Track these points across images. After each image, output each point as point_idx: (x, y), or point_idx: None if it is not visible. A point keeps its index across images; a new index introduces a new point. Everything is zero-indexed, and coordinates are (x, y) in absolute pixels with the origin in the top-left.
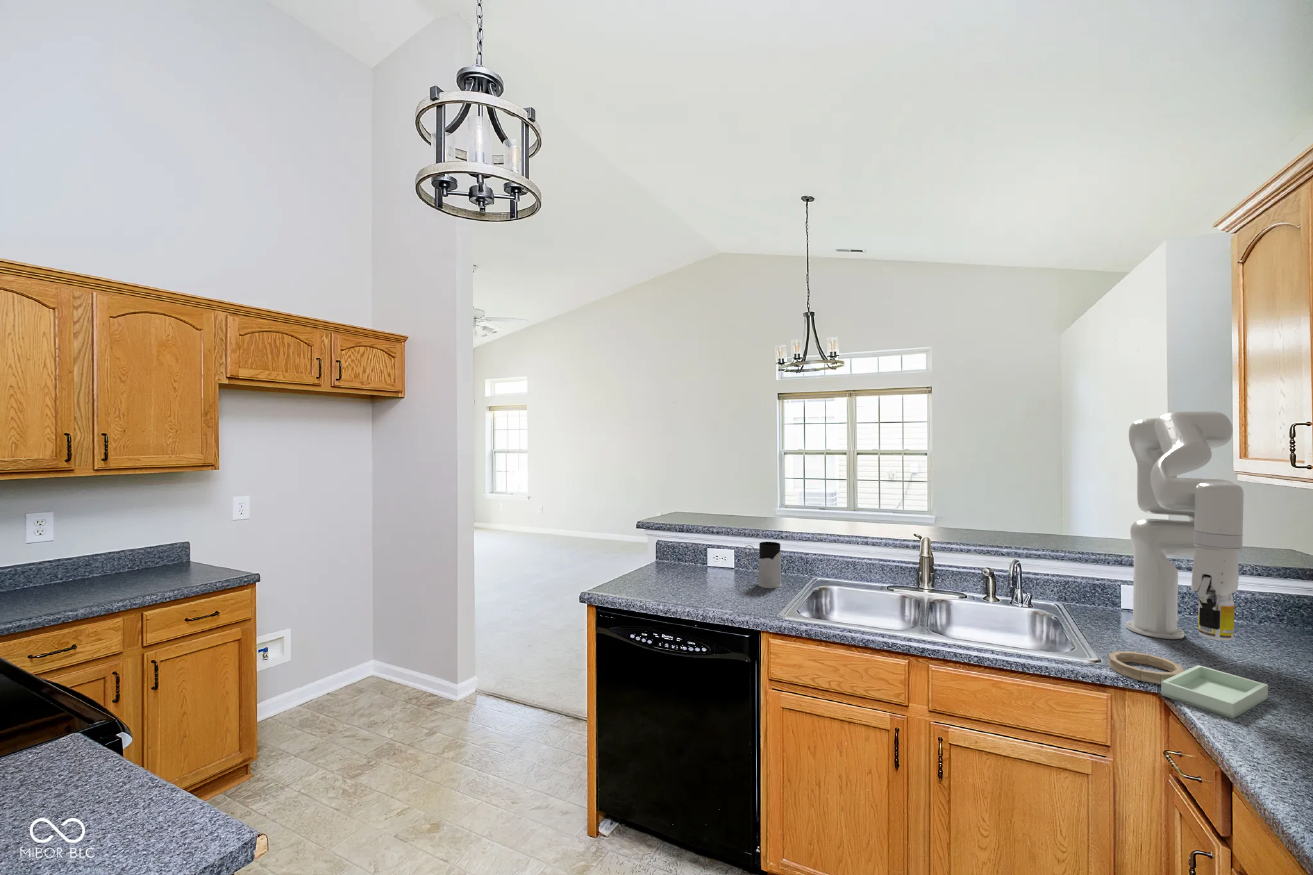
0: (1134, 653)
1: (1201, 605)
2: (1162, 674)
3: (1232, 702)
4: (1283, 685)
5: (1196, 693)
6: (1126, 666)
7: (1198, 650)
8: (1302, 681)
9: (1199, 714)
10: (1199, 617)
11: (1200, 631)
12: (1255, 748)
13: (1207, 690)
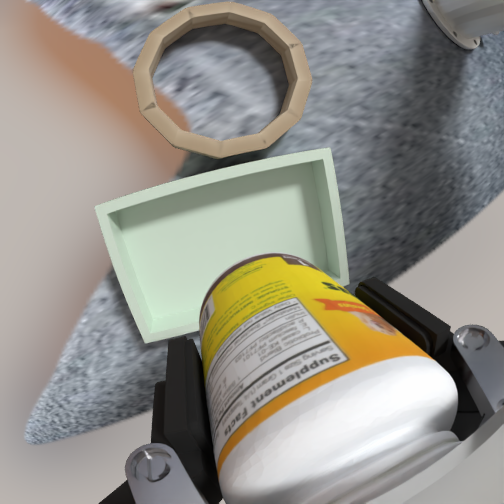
0: (265, 24)
1: (135, 476)
2: (177, 146)
3: (151, 338)
4: (421, 236)
5: (120, 280)
6: (134, 80)
7: (448, 80)
8: (455, 233)
9: (100, 295)
10: (168, 368)
11: (205, 297)
12: (88, 390)
13: (235, 221)
